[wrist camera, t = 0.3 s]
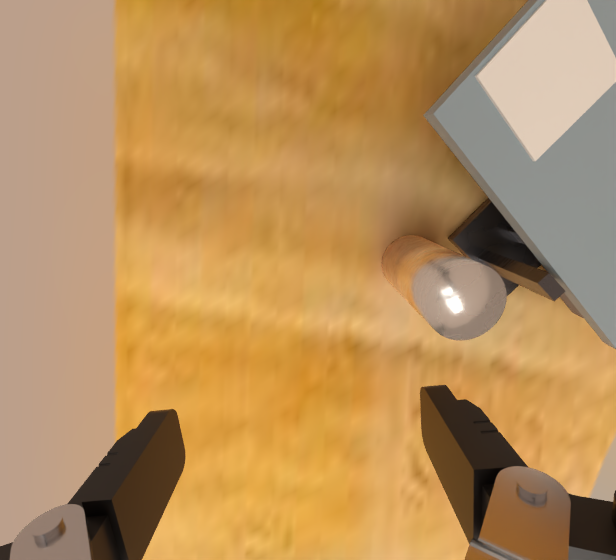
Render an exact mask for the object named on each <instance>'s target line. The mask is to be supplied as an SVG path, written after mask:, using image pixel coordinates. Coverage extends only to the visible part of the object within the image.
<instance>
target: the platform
mask: <svg viewBox="0 0 616 560" xmlns="http://www.w3.org/2000/svg"><path fill="white" fill-rule="evenodd" d="M423 116H424V117H425V118H426V119H427V121H428V122H429V123H430V124H431V126H432V127H433V128H434V129H435V131H436V132H437V133H438V135H439V136H440V137H441V138H442V140H443V141H444V142H445V143H446V145H447V146H448V147H449V148H450V150H451V151H452V152H453V153H454V155H455V156H456V157H457V158H458V160H459V161H460V162H461V163H462V165H463V166H464V167H465V169H466V170H467V171H468V172H469V174H470V175H471V176H472V177H473V179H474V180H475V181H476V182H477V184H478V185H479V186H480V187H481V189H482V190H483V191H484V192H485V194H486V195H487V196H488V198H489V199H490V200H491V201H492V203H493V204H494V205H495V206H496V208H497V209H498V210H499V211H500V213H501V214H502V215H503V216H504V218H505V219H506V220H507V221H508V223H509V224H510V225H511V227H512V228H513V229H514V230H515V232H516V233H517V234H518V235H519V237H520V238H521V239H522V240H523V242H524V243H525V244H526V245H527V247H528V248H529V249H530V250H531V252H532V253H533V254H534V255H535V257H536V258H537V259H538V261H539V262H540V263H541V264H542V266H543V267H544V268H545V269H546V271H547V272H548V273H550V274H551V275H552V277H553V278H554V279H555V280H556V281H557V282H558V283H559V284H560V285H561V287H562V288H563V289H564V290H565V292H564V293H563V294H562V295H561V296H560V298H561V299H562V300H563V301H564V303H565V304H566V305H567V306H568V308H569V309H570V310H571V311H572V312H573V313H575V314H577V315H578V316H580V317H582V318H584V319H585V320H586V321H587V322H588V324H589V325H590V326H591V327H592V329H593V330H594V331H595V332H596V334H597V335H598V336H599V337H600V339H601V340H602V341H603V342H604V343H606V344H608V345H609V346H611V347H613V348H615V349H616V0H528V1H527V2H526V4H525V5H524V6H523V7H522V8H521V9H520V10H519V11H518V12H517V13H516V14H515V16H514V17H513V18H512V19H511V20H510V21H509V22H508V23H507V24H506V25H505V26H504V28H503V29H502V30H501V31H500V32H499V33H498V34H497V35H496V36H495V37H494V39H493V40H492V41H491V42H490V43H489V44H488V45H487V46H486V47H485V48H484V49H483V51H482V52H481V53H480V54H479V55H478V56H477V57H476V58H475V59H474V60H473V61H472V63H471V64H470V65H469V66H468V67H467V68H466V69H465V70H464V71H463V72H462V74H461V75H460V76H459V77H458V78H457V79H456V80H455V81H454V82H453V83H452V84H451V86H450V87H449V88H448V89H447V90H446V91H445V92H444V93H443V94H442V95H441V97H440V98H439V99H438V100H437V101H436V102H435V103H434V104H433V105H432V106H431V107H430V109H429V110H428V111H427V112H426V113H425V114H424V115H423Z"/></svg>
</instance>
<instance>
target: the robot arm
mask: <svg viewBox="0 0 616 560" xmlns="http://www.w3.org/2000/svg"><path fill="white" fill-rule="evenodd" d="M420 400H421V429H422V437H423V442H424V445H425V448H426V451H427V453H428V455H429V458H430V460H431V462H432V464H433V466H434V468H435V471H436V473H437V475H438V477H439V479H440V481H441V483H442V486H443V488H444V490H445V492H446V494H447V496H448V499H449V501H450V503H451V505H452V507H453V509H454V512H455V514H456V516H457V518H458V520H459V522H460V525H461V527H462V529H463V531H464V533H465V535H466V537H467V540H468V542H469V544H470V545H469V547H468V550H467V554H466V557H465V560H616V491H615V493H614V501H613V502H610V501H604V500H598V499H592V498H586V497H580V496H576V495H572V494H568V493H567V491H566V490H565V489H564V487H563V486H562V485H561V484H560V483H559V482H557V481H556V480H555V479H553V478H552V477H550V476H549V475H547V474H545V473H543V472H541V471H538V470H536V469H532V468H529V467H528V466H527V465H526V464H525V463H524V462H523V460H522V459H521V458H520V457H519V455H518V454H517V453H516V452H515V450H514V449H513V448H512V447H511V446H510V444H509V443H508V442H507V441H506V439H505V438H504V437H503V436H502V434H501V433H500V432H498V430H497V428H496V427H495V426H494V425H493V423H491V422H490V420H489V418H488V417H487V416H486V415H485V414H484V412H483V411H482V410H481V409H480V408H479V407H477V406H476V405H474V404H472V403H471V402H469V401H468V400H457V399H456V398H455V397H454V395H453V394H452V393H451V391H450V390H449V388H448V387H447V386H446V385H438V386H427V387H421V390H420ZM184 464H185V448H184V443H183V438H182V434H181V429H180V424H179V420H178V415H177V412H176V411H175V410H174V409H170V410H159V411H150V412H149V413H148V414H147V415H146V416H145V418H144V419H143V420H142V422H141V423H140V424H139V426H138V427H137V428H136V429H132V430H130V431H129V432H128V433H127V434H125V435H124V436H123V437H121V438H120V439H119V440H117V442H116V443H115V444H114V446H113V447H112V448H111V449H110V451H109V452H108V454H107V456H105V457H104V458H103V460H102V461H101V462H100V463H99V467H96V468H95V470H94V471H93V472H92V473H91V475H90V476H89V477H88V479H87V480H86V481H85V482H84V484H83V485H82V486H81V487H80V489H79V490H78V491H77V493H76V494H75V495H74V496H73V498H72V499H71V500H70V501H69V503H68V504H67V505H62V506H59V507H56V508H54V509H51V510H49V511H47V512H45V513H43V514H42V515H40V516H38V517H37V518H36V519H34V520H33V521H32V522H31V523H29V524H28V525H27V526H26V527H25V528H24V529H23V530H22V531H21V532H20V533H19V534H18V535H17V537H16V538H15V540H14V542H12V543H10V544H6V545H3V546H0V560H142V558H143V556H144V554H145V552H146V549H147V547H148V545H149V543H150V541H151V539H152V536H153V534H154V532H155V530H156V528H157V526H158V523H159V521H160V519H161V517H162V515H163V513H164V510H165V508H166V506H167V504H168V502H169V500H170V497H171V495H172V493H173V491H174V489H175V487H176V484H177V482H178V480H179V478H180V476H181V474H182V471H183V468H184Z"/></svg>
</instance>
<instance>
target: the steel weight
mask: <svg viewBox="0 0 616 560" xmlns="http://www.w3.org/2000/svg"><path fill="white" fill-rule="evenodd" d="M382 271H383V274H384V276H385V278H386V279H387V281H388V282H389V283H390V284H391V285H392V286H393V287H394V288H395V289H396V290H397V291H398V292H399V293H400V294H401V295H402V296H403V297H404V298H405V299H406V300H407V301H408V303H409V304H410V305H411V306H412V307H413V308H414V309H415V310H416V311H417V312H418V313H419V314H420V315H421V316H422V317H423V318H424V319H425V320H426V321H427V322H428V323H429V324H430V325H431V326H432V327H433V328H434V329H435V330H436V331H437V332H438V333H439V334H440V335H442V336H444V337H446V338H449V339H453V340H468V339H472V338H475V337H478V336H480V335H482V334H484V333H485V332H487V331H488V330H490V329H491V328H492V327H493V326H494V325H495V324H496V323H497V321H498V320H499V319H500V317H501V315H502V313H503V311H504V308H505V305H506V297H507V294H506V288H505V284H504V282H503V280H502V278H501V277H500V275H499V274H498V273H497V272H496V271H494V270H493V269H492V268H490V267H488V266H486V265H483V264H481V263H479V262H477V261H474V260H472V259H470V258H468V257H465V256H463V255H461V254H459V253H456V252H454V251H452V250H450V249H447V248H445V247H443V246H441V245H439V244H436V243H434V242H432V241H430V240H427V239H425V238H423V237H420V236H416V235H407V236H403V237H400V238H398V239H396V240H395V241H393V242H392V243H391V244H390V245H389V246H388V248H387V249H386V251H385V253H384V255H383V258H382Z"/></svg>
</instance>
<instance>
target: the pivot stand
mask: <svg viewBox="0 0 616 560" xmlns="http://www.w3.org/2000/svg"><path fill="white" fill-rule="evenodd" d="M448 239H449V240H450V241H451V242H452V243H453V244H454V245H455V246H456V247H457V248H458V249H459V250H460V251H461V253H462V254H463V255H464V256H465V257H468V258H470V259H472V260H474V261H477V262H479V263H481V264H483V265H486V266H488V267H490V268H492V269H493V270H494V271H496V272H497V273H498V274H499V275H500V277H501V278H502V280H503V282H504V284H505V288H506V294H507V296H508V295H509V294H510V293H511V292H512V291H513V290H514V289H515V288H516V287H517V286H518V285H520V286H523V287H525V288H527V289H529V290H531V291H533V292H535V293H538V294H540V295H542V296H544V297H546V298H548V299H551V300H553V301H555V300H556V299H557V298H559V297H560V296H561V295H562V294H563V293H564V292H565V290H564V289H563V288H562V287H561V285H560V284H559V283H558V282H557V281H556V280H555V279H554V278H553V277H552V275H551V274H550V273H548V272H545V271H543V270H540V269H537V268H538V267H539V266H540V265H541V263H540V262H539V261H538V259H537V258H536V257H535V255H534V254H533V253H532V252H531V250H530V249H529V248H528V247H527V245H526V244H525V243H524V242H523V240H522V239H521V238H520V237H519V235H518V234H517V233H516V232H515V230H514V229H513V228H512V227H511V225H510V224H509V223H508V221H507V220H506V219H505V218H504V216H503V215H502V214H501V213H500V211H499V210H498V209H497V208H496V206H495V205H494V204H493V203H492V201H491V200H490V199H489V198H488V199H487V200H486V201H485V202H484V203H483V204H482V205H481V206H480V207H479V208H478V209H477V210H476V211H475V212H474V213H473V214H472V215H471V216H470V217H469V218H468V219H467V220H466V221H465V222H464V223H463V224H462V225H461V226H460V227H459V228H458V229H457V230H456V231H455V232H454V233H453V234H452V235H451V236H450V237H449V238H448Z"/></svg>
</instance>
